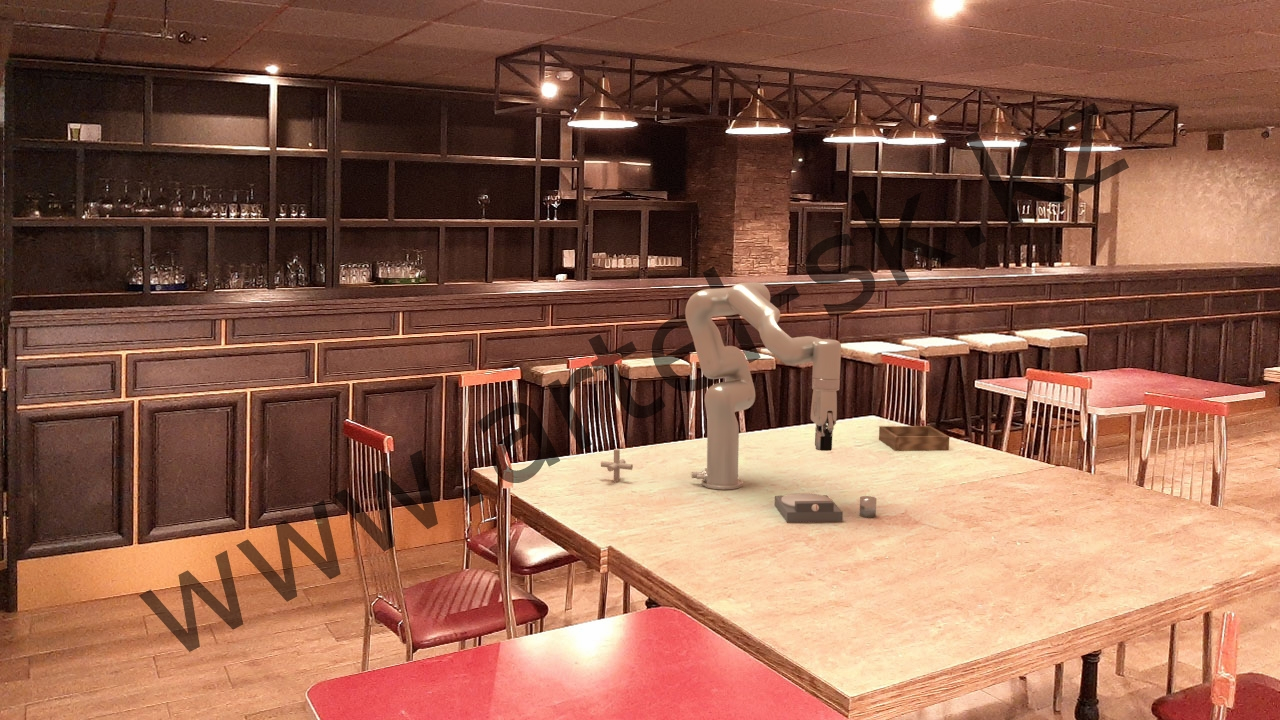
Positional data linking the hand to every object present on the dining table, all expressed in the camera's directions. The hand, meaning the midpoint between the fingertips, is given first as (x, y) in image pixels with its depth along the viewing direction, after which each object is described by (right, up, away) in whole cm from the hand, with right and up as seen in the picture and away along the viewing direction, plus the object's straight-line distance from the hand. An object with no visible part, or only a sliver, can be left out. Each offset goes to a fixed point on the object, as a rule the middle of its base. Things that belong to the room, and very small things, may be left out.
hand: (823, 447), depth 288 cm
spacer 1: (0, 0, 0) cm, 0 cm away
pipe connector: (-59, -13, +30) cm, 67 cm away
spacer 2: (+11, -18, -7) cm, 22 cm away
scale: (-5, -18, -5) cm, 19 cm away
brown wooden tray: (+48, -6, +85) cm, 98 cm away
